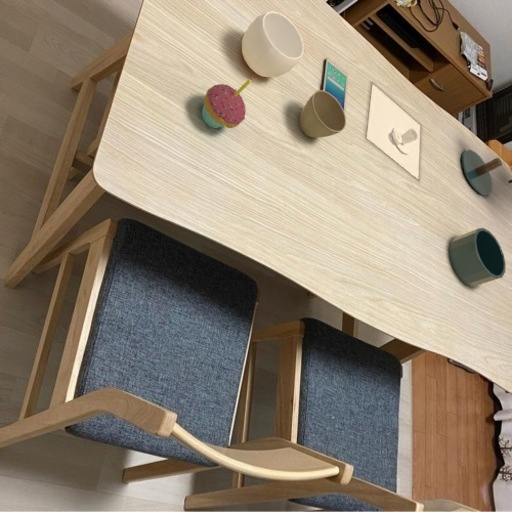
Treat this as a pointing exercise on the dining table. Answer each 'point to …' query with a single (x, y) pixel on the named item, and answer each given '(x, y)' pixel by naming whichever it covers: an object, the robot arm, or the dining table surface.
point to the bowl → (477, 257)
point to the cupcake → (224, 106)
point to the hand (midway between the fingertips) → (500, 160)
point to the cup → (272, 45)
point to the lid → (479, 171)
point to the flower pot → (322, 115)
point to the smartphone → (335, 81)
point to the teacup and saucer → (394, 131)
